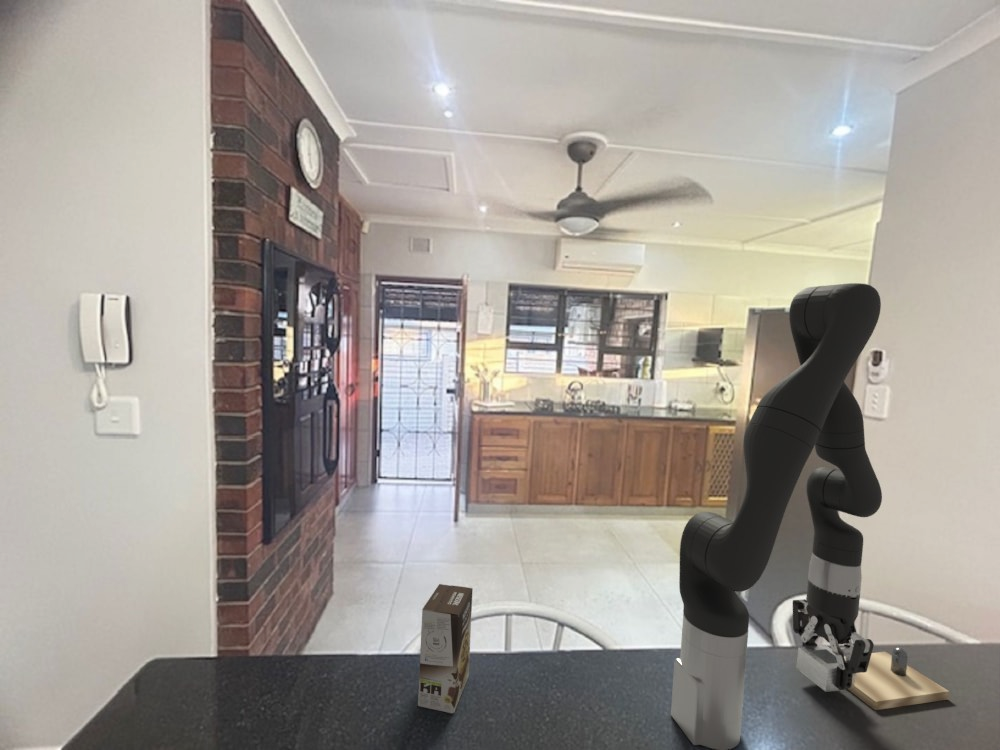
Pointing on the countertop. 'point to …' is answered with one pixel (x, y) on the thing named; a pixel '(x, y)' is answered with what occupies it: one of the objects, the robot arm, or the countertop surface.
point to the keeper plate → (895, 683)
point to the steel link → (820, 666)
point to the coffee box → (445, 647)
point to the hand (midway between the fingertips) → (824, 674)
